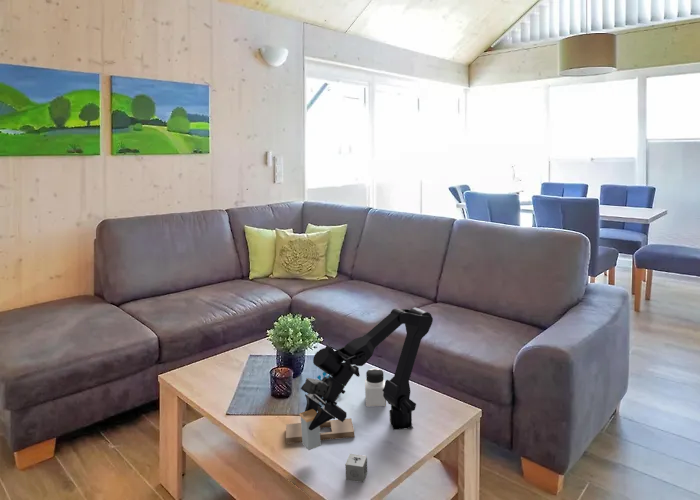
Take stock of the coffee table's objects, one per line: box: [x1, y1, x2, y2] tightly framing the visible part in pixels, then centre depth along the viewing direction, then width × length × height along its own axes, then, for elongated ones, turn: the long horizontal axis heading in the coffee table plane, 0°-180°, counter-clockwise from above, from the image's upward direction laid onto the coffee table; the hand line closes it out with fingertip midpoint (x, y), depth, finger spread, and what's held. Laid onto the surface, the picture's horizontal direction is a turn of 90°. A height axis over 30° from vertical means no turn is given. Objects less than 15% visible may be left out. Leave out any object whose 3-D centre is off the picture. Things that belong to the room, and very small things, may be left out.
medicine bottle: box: [364, 368, 387, 408], centre depth 187 cm, size 7×7×12 cm
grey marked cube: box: [345, 453, 368, 483], centre depth 148 cm, size 5×5×5 cm
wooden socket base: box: [285, 417, 355, 444], centre depth 169 cm, size 22×8×2 cm, turn 96°
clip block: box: [299, 409, 322, 451], centre depth 155 cm, size 4×4×10 cm
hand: (306, 426), depth 153 cm, fingers closed on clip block, 4 cm apart
